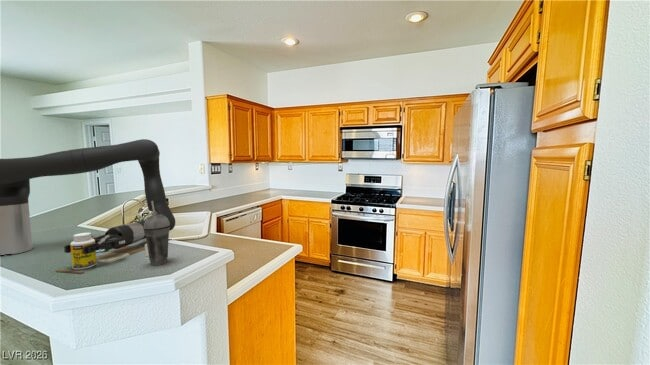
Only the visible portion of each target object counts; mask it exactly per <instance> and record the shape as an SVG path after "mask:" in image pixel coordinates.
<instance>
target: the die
mask: <svg viewBox="0 0 650 365" xmlns="http://www.w3.org/2000/svg"><path fill="white" fill-rule="evenodd" d="M144 247H145V249H144V254H145V255H144V257H149V253H148V247H147V243H144Z"/></svg>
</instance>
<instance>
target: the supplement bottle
mask: <svg viewBox="0 0 650 365" xmlns="http://www.w3.org/2000/svg"><path fill="white" fill-rule="evenodd" d="M92 236H93V235H92V233H91V232H81V233H76V234H73V241H71V242H70V244H69V245H70V246H71V252H70V258H71V260H70V261H71V267H72V268H71V269H72V270H76V271H83V270H86V269H91V268H93V267H94V266H96V265H97V262H96V256H97V253H96V252H97V251H95V252H92V253H88V254H83V247H85V246H88V245H91V244H95V240H94V239H92Z"/></svg>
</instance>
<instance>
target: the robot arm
mask: <svg viewBox="0 0 650 365" xmlns="http://www.w3.org/2000/svg"><path fill="white" fill-rule="evenodd" d="M160 154H161V153H160V150H159V147H158V144H157V143H156V142H154V141H153V140H151V139H146V138H145V139H144V138H143V139H137V140H132V141H128V142H123V143H119V144H111V145H102V146H101V145H100V146H94V147H92V146H91V147H83V148H74V149H67V150H62V151H56V152H51V153H46V154H43V155H37V156H29V157H27V156H26V157H17V158H16V157H15V158H13V157H12V158H0V255H3V254H12V255H17V254H21V253H25V252H26V253H27V252H28V251H29V252H30V251H31V250H32V249H33V248H34V247H33V238H32V237H33V236H32V227H31V226H32V225H31V224H32V223H31V215H30V205H29V197H30V195H31V186H30V185H31V184H30V180H33V179H36V178H42V177H53V176H54V177H55V176H69V175H77V174H84V173H85V174H86V173H91V172H95V171H96V172H97V171H100V170H103V169H106V168H108V167H110V166H113V165H115V164H119V163H125V162H132V161H138V163H139V167H140V168H141V171H142V176H143V182H144V183H143V185H144V194H145V199H146V205H147V209H148V210H149V212H153V209H152V203H151V201H153V203H154V209H155V213H156V214H161V215H164V216H165V217H167V218H168V220H169V222H170V231H172V230H174V228H175V226H176V218H175V216H174V214H173V211H171V208H170V206H169V205H168V202H167V197H166V192H165V188H164V184H163V181H162V178H161V177H162V176H161V170H160ZM146 220H147V219H145V220H139V221H136V222H129V223H125V224H121V225H118V226H114V227H113V226H112V227H110V228H108V229H106V232H105V233H104V234H99V235H97V236H96V235H95V236H94V235H91V236H92V239H94V240H95V244H91V245H88V246H85V247H83V254H88V253H92V252H95V251H96V252H97V251H100V252H101V251H111V250H115V249H119V248H122V247H125V246H131V245H133V244H136V243H138V242H140V241H142V240H146V235H145V233H144V229H143V228H144V223H145V221H146ZM63 248H64V251H63V253H65V254H69V253H70V254H71V246H70V244H66V245H65V246H64V247H63Z"/></svg>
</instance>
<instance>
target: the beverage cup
mask: <svg viewBox="0 0 650 365" xmlns="http://www.w3.org/2000/svg"><path fill="white" fill-rule="evenodd" d="M151 203H152V209H153V211H152V215H150V216H149V217H147V218H146V219H145V220H146V221H145V223H144V228H143V229H144V233H145V235H146V239H145V241H146V244H147V247H148V253H149V256H148V259H149V262H150V266H154V267H155V266H161V265H165V264H166V263H168V258H169V257H168V255H169V237H170V236H169V235H170V232H171V230H170V222H169V220H168V218H167V217H165V216H164V215H161V214H158V213H156V211H155V209H154V203H153V201H151Z"/></svg>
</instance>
